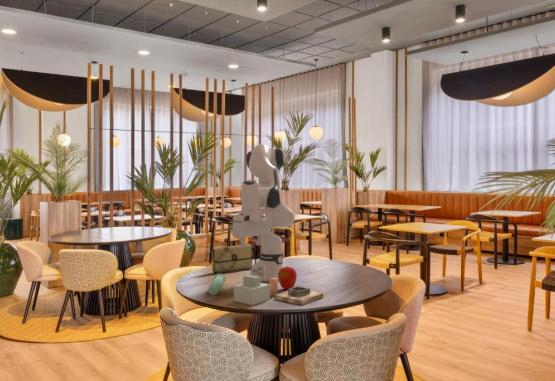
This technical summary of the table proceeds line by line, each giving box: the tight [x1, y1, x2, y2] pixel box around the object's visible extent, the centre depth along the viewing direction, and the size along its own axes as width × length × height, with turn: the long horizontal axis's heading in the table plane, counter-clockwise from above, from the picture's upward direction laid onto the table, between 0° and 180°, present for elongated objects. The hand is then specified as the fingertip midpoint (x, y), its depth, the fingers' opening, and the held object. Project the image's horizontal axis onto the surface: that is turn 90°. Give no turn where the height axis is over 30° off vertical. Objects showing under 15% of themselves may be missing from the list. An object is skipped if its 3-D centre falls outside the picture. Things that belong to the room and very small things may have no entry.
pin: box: [268, 278, 279, 297], centre depth 223 cm, size 4×4×8 cm
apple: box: [278, 265, 298, 291], centre depth 235 cm, size 9×9×12 cm
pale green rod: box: [207, 273, 226, 296], centre depth 236 cm, size 6×6×25 cm
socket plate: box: [274, 285, 324, 306], centre depth 217 cm, size 16×16×4 cm
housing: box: [233, 274, 271, 306], centre depth 215 cm, size 12×12×11 cm
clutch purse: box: [209, 243, 257, 274], centre depth 281 cm, size 30×7×15 cm, turn 123°
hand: (251, 246), depth 214 cm, fingers open, 8 cm apart
